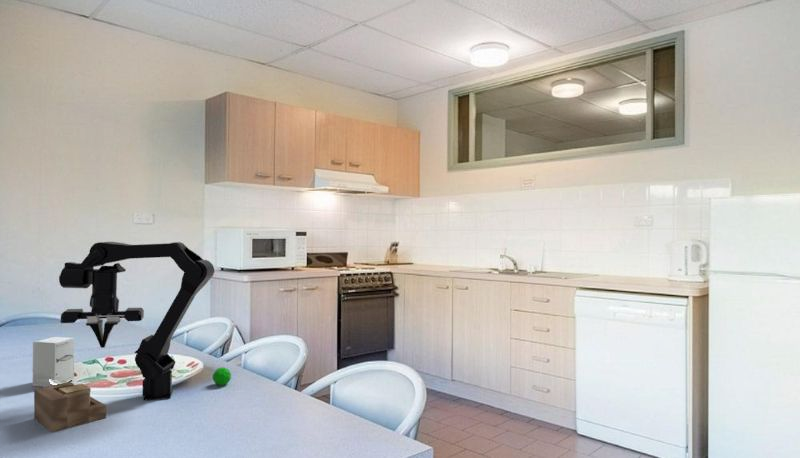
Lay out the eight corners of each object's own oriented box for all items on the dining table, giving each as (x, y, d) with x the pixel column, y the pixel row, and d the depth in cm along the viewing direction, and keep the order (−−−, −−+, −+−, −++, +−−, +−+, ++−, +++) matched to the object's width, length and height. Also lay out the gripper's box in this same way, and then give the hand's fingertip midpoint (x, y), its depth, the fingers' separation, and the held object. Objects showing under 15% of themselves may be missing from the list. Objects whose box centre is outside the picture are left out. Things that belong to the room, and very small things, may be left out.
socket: (86, 406, 133) (86, 378, 133) (105, 417, 125) (106, 388, 125) (34, 418, 124) (34, 389, 124) (52, 432, 116) (52, 400, 116)
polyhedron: (208, 386, 150) (209, 369, 150) (220, 381, 155) (220, 365, 155) (223, 388, 148) (223, 371, 148) (234, 383, 153) (234, 367, 153)
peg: (82, 411, 129) (82, 383, 129) (90, 416, 126) (90, 387, 126) (58, 417, 125) (58, 388, 125) (66, 423, 122) (66, 393, 122)
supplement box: (53, 388, 147) (54, 343, 146) (31, 386, 148) (31, 341, 148) (75, 380, 154) (75, 337, 154) (53, 378, 155) (53, 336, 155)
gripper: (146, 284, 151) (145, 339, 151) (72, 285, 144) (70, 342, 145) (141, 290, 140) (140, 348, 140) (60, 290, 134) (59, 351, 134)
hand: (102, 347), depth 140 cm, fingers closed
